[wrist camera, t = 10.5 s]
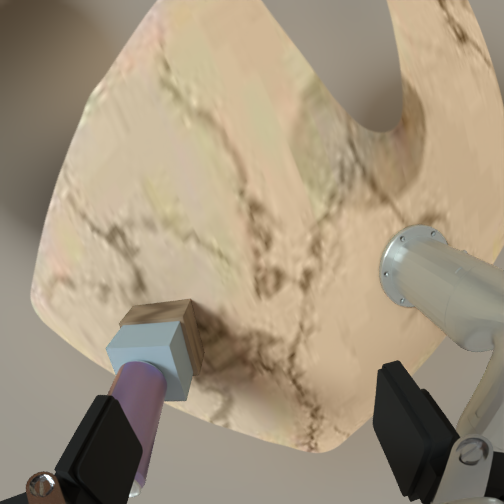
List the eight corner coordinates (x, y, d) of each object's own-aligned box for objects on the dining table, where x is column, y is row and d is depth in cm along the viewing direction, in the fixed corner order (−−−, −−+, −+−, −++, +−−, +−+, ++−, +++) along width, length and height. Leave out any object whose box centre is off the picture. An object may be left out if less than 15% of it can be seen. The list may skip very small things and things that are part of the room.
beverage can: (147, 350, 31) (106, 461, 17) (178, 387, 33) (157, 496, 19) (110, 367, 32) (64, 465, 18) (141, 400, 34) (111, 499, 19)
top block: (179, 320, 37) (169, 345, 32) (193, 372, 39) (186, 400, 34) (122, 325, 38) (105, 348, 32) (139, 374, 40) (127, 400, 34)
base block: (190, 298, 43) (182, 316, 37) (204, 352, 45) (199, 375, 39) (133, 305, 43) (118, 323, 38) (149, 356, 46) (139, 378, 40)
